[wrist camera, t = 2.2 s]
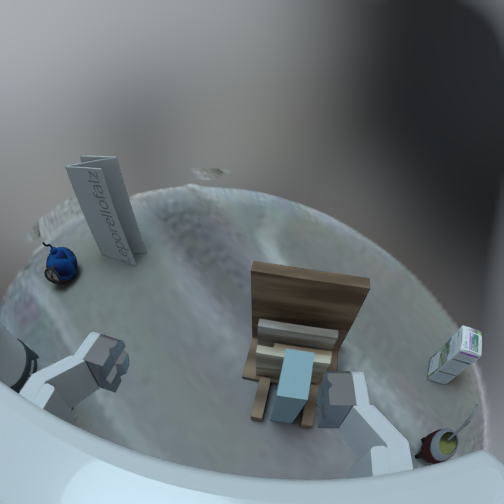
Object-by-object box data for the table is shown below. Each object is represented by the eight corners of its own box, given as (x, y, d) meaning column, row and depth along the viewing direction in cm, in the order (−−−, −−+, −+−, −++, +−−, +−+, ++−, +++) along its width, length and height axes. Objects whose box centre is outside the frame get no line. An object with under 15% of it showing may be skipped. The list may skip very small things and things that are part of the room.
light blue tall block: (291, 423, 44) (307, 399, 32) (270, 420, 45) (276, 395, 32) (297, 390, 49) (314, 352, 36) (277, 387, 50) (285, 348, 37)
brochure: (101, 254, 76) (65, 166, 55) (112, 242, 80) (80, 155, 58) (136, 266, 73) (100, 169, 51) (147, 252, 76) (116, 156, 55)
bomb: (49, 289, 66) (24, 253, 55) (64, 262, 74) (44, 225, 63) (72, 293, 65) (47, 255, 55) (87, 264, 73) (67, 225, 62)
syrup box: (445, 385, 46) (483, 356, 35) (425, 379, 48) (461, 348, 37) (448, 363, 49) (483, 331, 39) (429, 357, 51) (462, 324, 41)
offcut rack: (328, 430, 43) (370, 400, 27) (232, 415, 46) (218, 377, 30) (337, 344, 56) (369, 278, 40) (254, 331, 59) (253, 260, 43)
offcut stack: (319, 385, 49) (336, 359, 40) (253, 374, 51) (252, 346, 42) (322, 361, 52) (338, 330, 43) (259, 351, 54) (259, 318, 45)
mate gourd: (417, 471, 33) (463, 462, 23) (407, 440, 39) (449, 423, 28) (445, 454, 34) (491, 438, 24) (434, 425, 40) (478, 402, 29)
